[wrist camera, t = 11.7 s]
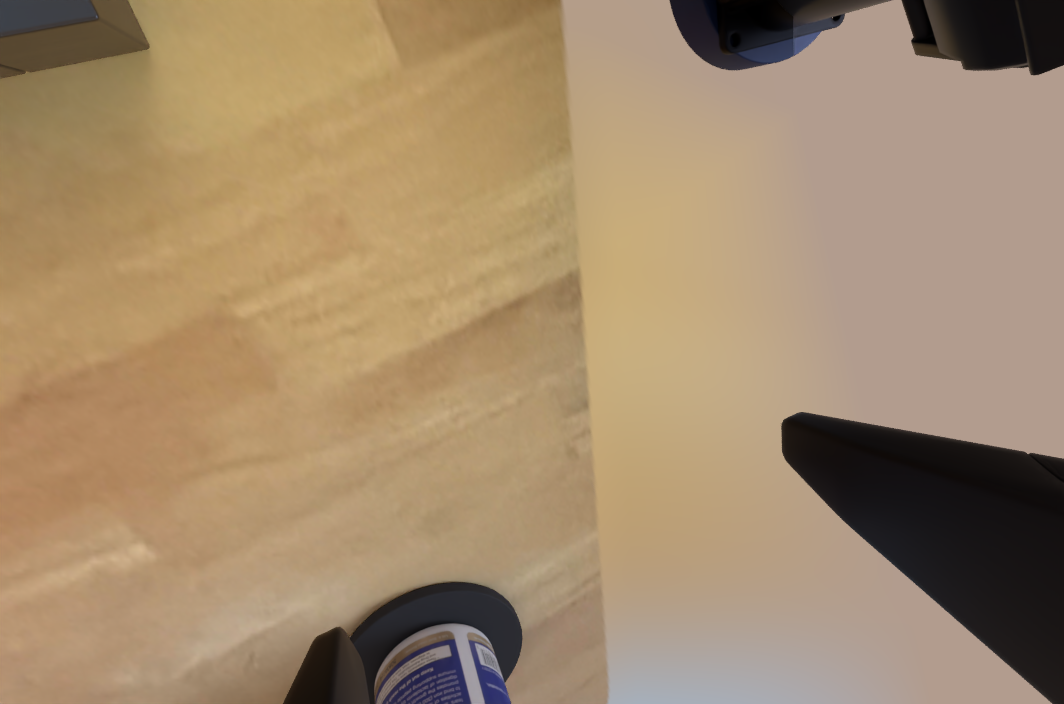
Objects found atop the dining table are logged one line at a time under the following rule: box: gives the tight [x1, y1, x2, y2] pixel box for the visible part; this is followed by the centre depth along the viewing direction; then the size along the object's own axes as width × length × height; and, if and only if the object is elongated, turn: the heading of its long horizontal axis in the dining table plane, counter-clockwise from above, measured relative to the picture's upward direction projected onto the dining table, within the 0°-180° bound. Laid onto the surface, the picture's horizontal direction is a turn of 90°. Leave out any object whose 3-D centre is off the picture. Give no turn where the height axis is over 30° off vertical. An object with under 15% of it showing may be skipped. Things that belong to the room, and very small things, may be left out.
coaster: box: [350, 583, 522, 704], centre depth 25 cm, size 9×9×1 cm
